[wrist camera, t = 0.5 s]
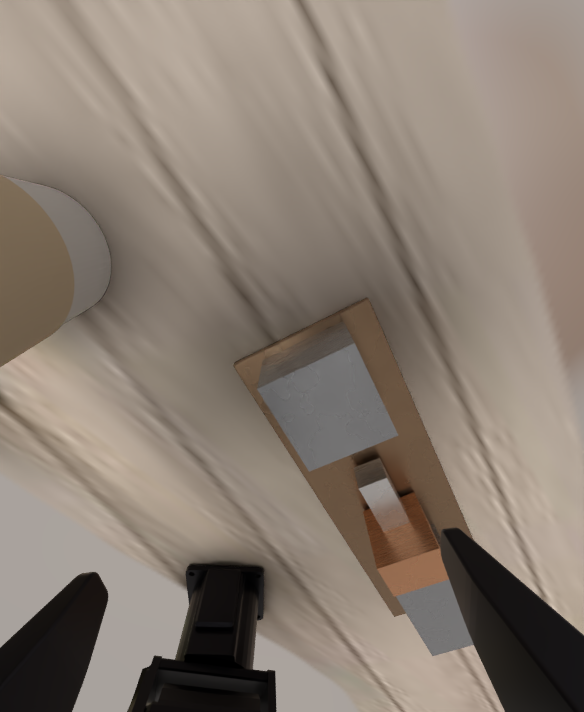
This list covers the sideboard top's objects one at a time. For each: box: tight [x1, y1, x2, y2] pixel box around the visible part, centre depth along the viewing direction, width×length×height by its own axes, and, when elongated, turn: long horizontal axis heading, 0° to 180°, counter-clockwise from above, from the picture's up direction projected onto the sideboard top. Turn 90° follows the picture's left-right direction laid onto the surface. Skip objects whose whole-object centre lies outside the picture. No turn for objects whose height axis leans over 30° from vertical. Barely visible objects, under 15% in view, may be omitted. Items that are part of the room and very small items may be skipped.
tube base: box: [233, 298, 474, 656], centre depth 23 cm, size 28×9×4 cm, turn 27°
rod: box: [354, 458, 449, 597], centre depth 24 cm, size 16×4×4 cm, turn 27°
